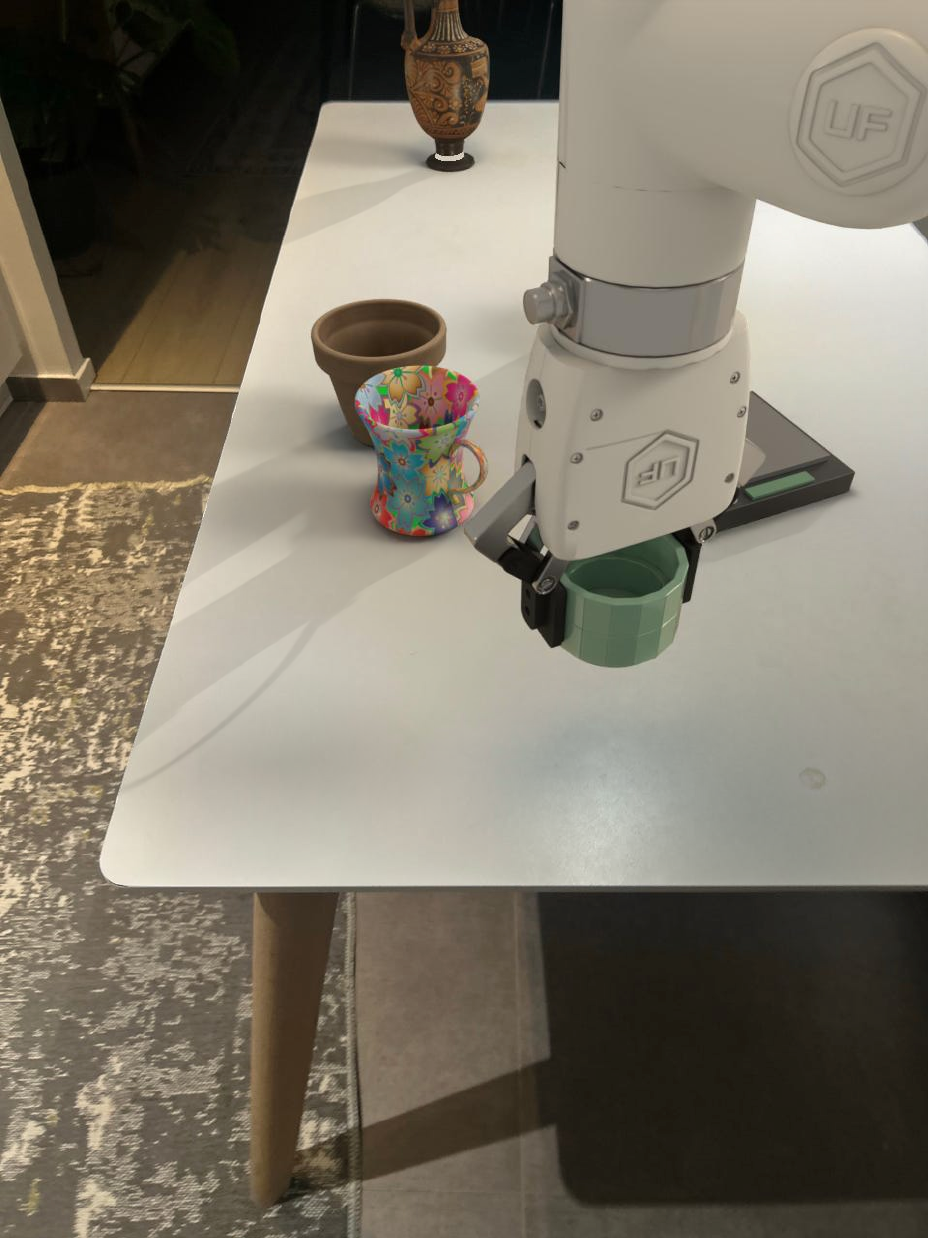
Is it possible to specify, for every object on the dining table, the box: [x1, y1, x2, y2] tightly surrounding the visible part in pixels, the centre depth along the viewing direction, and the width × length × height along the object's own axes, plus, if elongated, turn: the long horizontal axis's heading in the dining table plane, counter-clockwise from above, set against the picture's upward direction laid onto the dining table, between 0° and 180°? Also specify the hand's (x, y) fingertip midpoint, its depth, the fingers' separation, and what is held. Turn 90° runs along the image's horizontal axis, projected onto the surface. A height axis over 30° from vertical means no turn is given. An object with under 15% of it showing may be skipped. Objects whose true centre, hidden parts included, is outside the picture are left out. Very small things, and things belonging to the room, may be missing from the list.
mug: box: [355, 366, 489, 537], centre depth 71 cm, size 12×9×11 cm
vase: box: [400, 0, 491, 172], centre depth 123 cm, size 12×12×30 cm
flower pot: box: [310, 298, 448, 447], centre depth 81 cm, size 12×11×10 cm
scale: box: [715, 390, 856, 533], centre depth 79 cm, size 14×14×3 cm
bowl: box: [559, 533, 689, 669], centre depth 49 cm, size 7×7×5 cm
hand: (607, 606), depth 50 cm, fingers closed on bowl, 7 cm apart
